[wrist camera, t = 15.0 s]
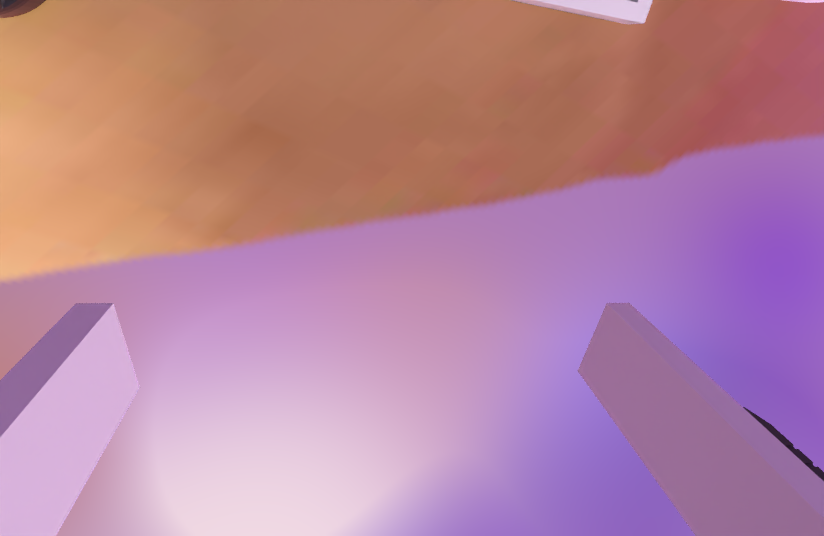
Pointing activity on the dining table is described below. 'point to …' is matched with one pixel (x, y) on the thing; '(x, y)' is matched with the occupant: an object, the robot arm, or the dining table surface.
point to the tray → (600, 8)
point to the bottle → (806, 1)
